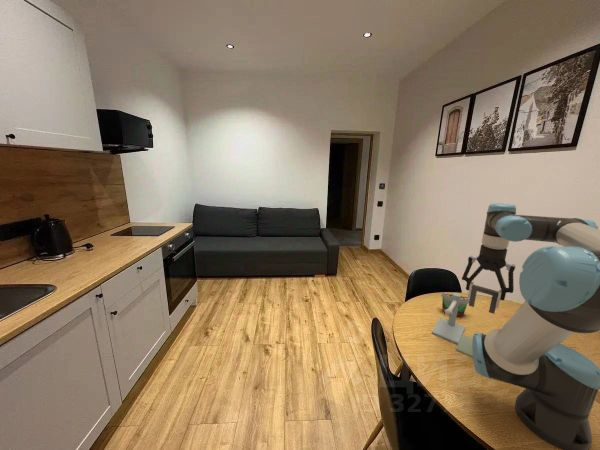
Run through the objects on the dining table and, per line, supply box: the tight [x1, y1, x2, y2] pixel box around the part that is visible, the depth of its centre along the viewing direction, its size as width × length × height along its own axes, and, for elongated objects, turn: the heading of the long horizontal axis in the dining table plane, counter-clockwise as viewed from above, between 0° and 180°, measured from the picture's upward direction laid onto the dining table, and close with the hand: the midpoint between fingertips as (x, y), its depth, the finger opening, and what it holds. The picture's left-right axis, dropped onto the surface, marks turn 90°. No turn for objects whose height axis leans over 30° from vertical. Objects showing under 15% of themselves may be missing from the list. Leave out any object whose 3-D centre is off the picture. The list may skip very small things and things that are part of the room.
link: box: [468, 284, 499, 315], centre depth 92 cm, size 2×8×9 cm, turn 46°
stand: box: [431, 292, 466, 346], centre depth 105 cm, size 15×10×16 cm
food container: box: [440, 292, 470, 318], centre depth 118 cm, size 12×6×10 cm, turn 72°
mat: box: [455, 333, 473, 359], centre depth 97 cm, size 12×10×1 cm
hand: (482, 302), depth 92 cm, fingers closed on link, 8 cm apart
